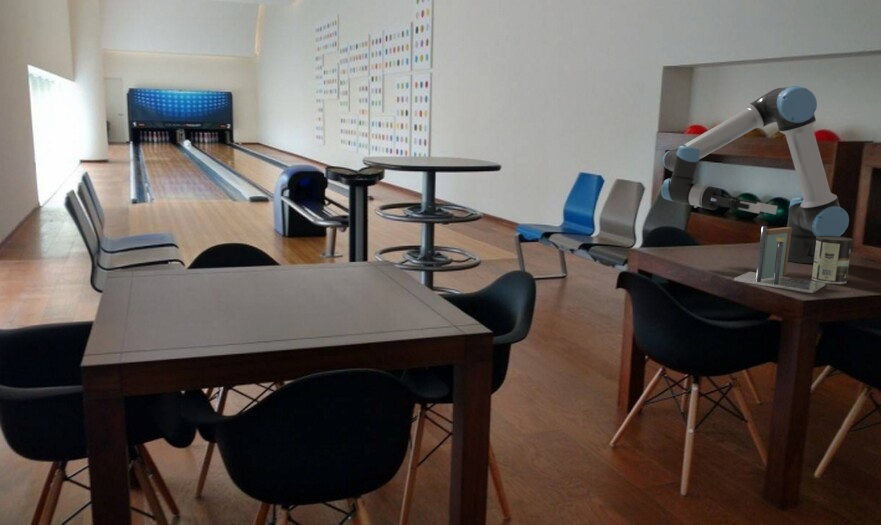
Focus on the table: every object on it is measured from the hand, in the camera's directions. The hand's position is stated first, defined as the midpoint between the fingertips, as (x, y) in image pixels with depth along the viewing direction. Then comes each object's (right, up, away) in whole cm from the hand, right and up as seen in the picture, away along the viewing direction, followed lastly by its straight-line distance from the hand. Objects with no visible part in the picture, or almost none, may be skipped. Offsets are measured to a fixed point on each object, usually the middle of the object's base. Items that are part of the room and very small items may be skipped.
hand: (768, 209), depth 237 cm
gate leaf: (+1, -21, -1) cm, 21 cm away
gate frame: (+2, -23, -3) cm, 24 cm away
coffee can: (+21, -23, +2) cm, 31 cm away
